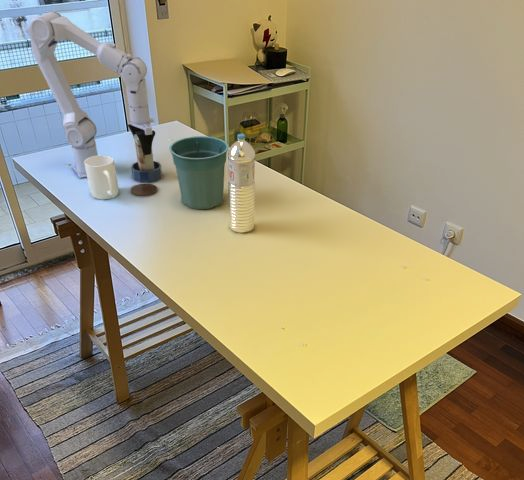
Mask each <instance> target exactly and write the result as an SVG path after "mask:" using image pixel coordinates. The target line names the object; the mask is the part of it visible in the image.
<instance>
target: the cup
mask: <svg viewBox="0 0 524 480" xmlns="http://www.w3.org/2000/svg"><path fill="white" fill-rule="evenodd" d="M84 163H85V168H86V173H87V177H86V178H87V183H88V188H89V192H90V195H91V196H92V198H93V199H96V200H111V199H113V198H115V197H117V196H118V195H119V190H120V189H119V184H118V177H117V172H116V166H115V159H114V158H113V157H112V156H109V155H103V154H102V155H101V154H98V156H93V157H89V158H87V159H86V160H85V161H84Z"/></svg>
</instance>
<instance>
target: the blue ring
mask: <svg viewBox="0 0 524 480" xmlns="http://www.w3.org/2000/svg"><path fill="white" fill-rule="evenodd" d="M153 162H154V170H150V171H141V170H140V169H139V166H138V161H136V162H133V163H132V164H131V167H130V170H131V177H132V179H133V180H134V181H135V182H138V183H140V184H151V183H154V182H158V181H160V180H161V179H162V178H163V167H162V164H161V163H160V162H159V161H156V160H153Z"/></svg>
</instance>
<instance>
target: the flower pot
mask: <svg viewBox="0 0 524 480" xmlns="http://www.w3.org/2000/svg"><path fill="white" fill-rule="evenodd" d="M229 149H230V145H229V144H228V143H227V141H225V140H224V139H221V138H219V137H214V136H207V135H196V136H188V137H183V138H180V139H176V140H175V141H173V142H172V143H171V144H170V145H169V148H168V150H169V152H170V154H171V156H172V160H173V164H174V166H175V170H176V176H177V181H178V186H179V187H178V188H179V191H180V197H181V202H182V203H183V205H184V206H185V205H186V206H187V207H188V208H189V209H194V210H209V209H213V207H218V206H220V205H221V204H222V203H223V201H224V189H225V188H224V186H225V169H226V163H227V156H228V150H229Z"/></svg>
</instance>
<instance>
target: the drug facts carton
mask: <svg viewBox="0 0 524 480" xmlns="http://www.w3.org/2000/svg"><path fill="white" fill-rule="evenodd" d="M133 139H135V140H134V146H135V153H136V159H137V161H136V162H138V166H139V169H140V170H141V171H150V170H154V162H153V161H154V153H153V148H152V149H151V154H150V155H144V154H143V151H142V147H141V144H140V141H139V138H138V137H137V135H136V134H134V137H133Z"/></svg>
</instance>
